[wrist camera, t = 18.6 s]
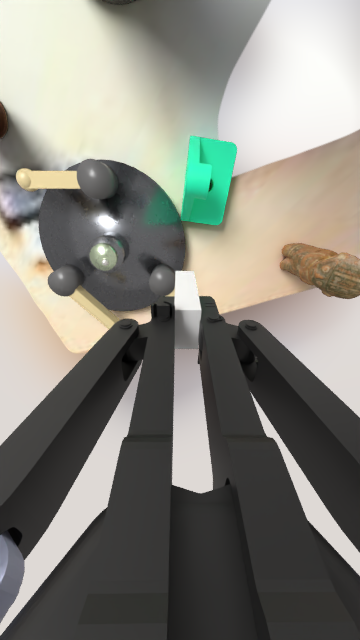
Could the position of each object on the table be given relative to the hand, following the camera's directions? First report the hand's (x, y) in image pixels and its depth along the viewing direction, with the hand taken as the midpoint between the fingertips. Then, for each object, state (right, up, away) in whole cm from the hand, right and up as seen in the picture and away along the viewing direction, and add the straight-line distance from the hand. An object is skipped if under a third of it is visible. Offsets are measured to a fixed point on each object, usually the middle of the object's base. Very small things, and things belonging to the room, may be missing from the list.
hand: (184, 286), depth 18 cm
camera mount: (+4, +22, +21) cm, 30 cm away
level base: (-13, +12, +26) cm, 31 cm away
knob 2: (0, +2, +29) cm, 29 cm away
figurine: (+25, +10, +28) cm, 38 cm away
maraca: (-18, +21, +18) cm, 33 cm away
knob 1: (-19, +2, +29) cm, 34 cm away
